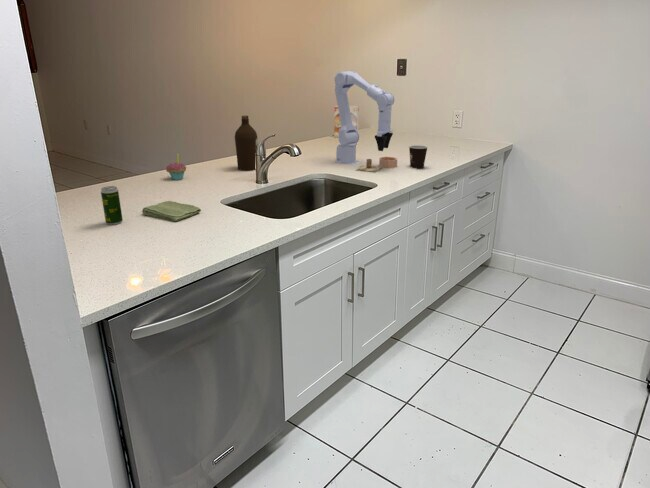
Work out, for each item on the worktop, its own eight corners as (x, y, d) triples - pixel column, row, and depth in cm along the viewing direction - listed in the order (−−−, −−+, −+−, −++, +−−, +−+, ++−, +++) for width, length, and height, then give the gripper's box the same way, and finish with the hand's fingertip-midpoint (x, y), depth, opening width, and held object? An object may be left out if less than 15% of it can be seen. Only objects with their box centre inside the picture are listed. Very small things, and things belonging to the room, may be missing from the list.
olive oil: (239, 171, 240) (235, 117, 231) (234, 167, 249) (231, 114, 240) (261, 170, 243) (258, 116, 234) (256, 165, 252) (253, 113, 243)
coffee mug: (425, 169, 245) (427, 149, 241) (407, 168, 246) (408, 148, 243) (426, 164, 255) (427, 144, 252) (408, 163, 257) (410, 144, 253)
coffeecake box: (334, 137, 330) (334, 106, 323) (335, 135, 336) (335, 105, 329) (357, 138, 327) (357, 106, 320) (358, 136, 334) (359, 105, 327)
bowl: (376, 167, 249) (377, 159, 247) (382, 164, 256) (382, 156, 255) (393, 169, 245) (394, 161, 244) (398, 165, 253) (399, 157, 251)
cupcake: (190, 177, 230) (188, 150, 226) (179, 181, 223) (177, 154, 218) (174, 175, 233) (171, 149, 228) (163, 180, 225) (160, 153, 221)
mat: (355, 171, 241) (355, 170, 241) (362, 167, 250) (362, 166, 250) (375, 173, 238) (375, 172, 237) (382, 169, 246) (382, 168, 246)
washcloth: (177, 224, 171) (176, 215, 170) (140, 216, 179) (139, 207, 178) (203, 213, 182) (203, 205, 181) (167, 206, 190) (166, 198, 189)
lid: (355, 170, 241) (356, 160, 240) (363, 166, 250) (363, 156, 248) (374, 172, 238) (375, 162, 236) (381, 168, 246) (382, 158, 244)
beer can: (117, 219, 175) (112, 185, 170) (126, 222, 172) (121, 187, 167) (102, 223, 171) (97, 188, 167) (111, 226, 168) (105, 191, 163)
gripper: (388, 122, 229) (386, 152, 234) (397, 118, 242) (395, 147, 247) (373, 121, 232) (372, 151, 237) (383, 117, 244) (381, 146, 249)
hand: (383, 149), depth 242 cm, fingers open, 7 cm apart
